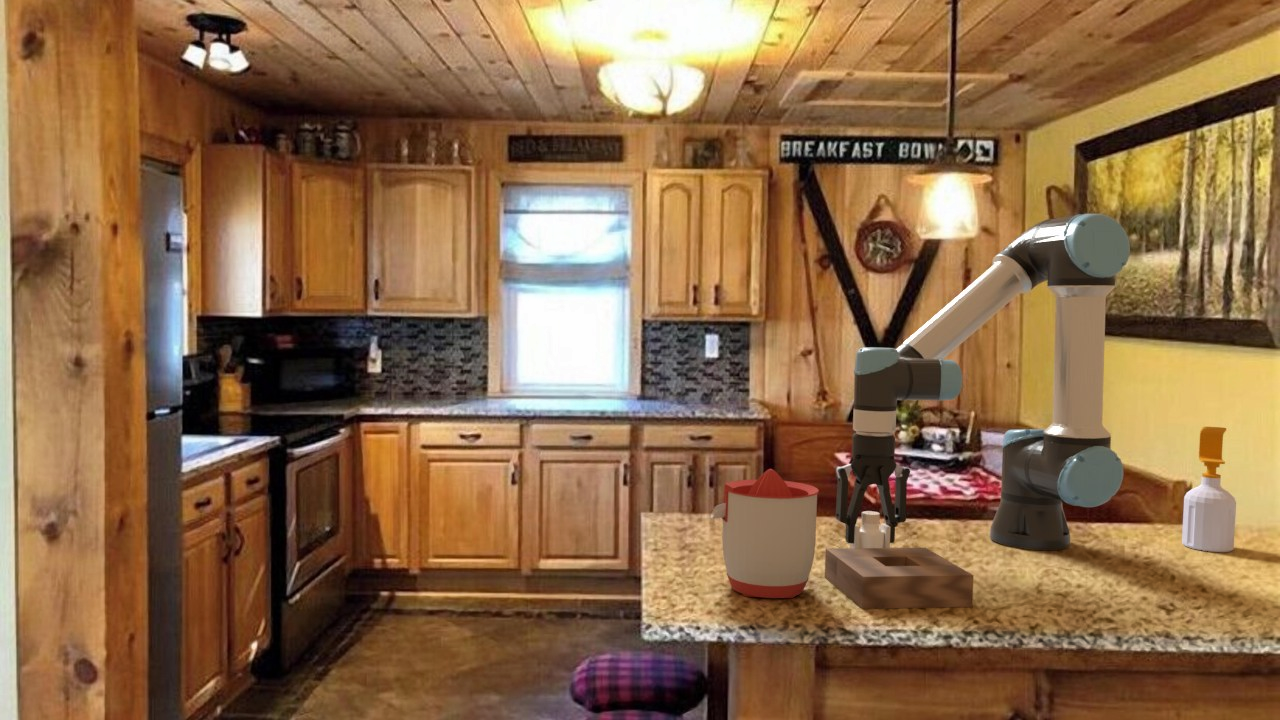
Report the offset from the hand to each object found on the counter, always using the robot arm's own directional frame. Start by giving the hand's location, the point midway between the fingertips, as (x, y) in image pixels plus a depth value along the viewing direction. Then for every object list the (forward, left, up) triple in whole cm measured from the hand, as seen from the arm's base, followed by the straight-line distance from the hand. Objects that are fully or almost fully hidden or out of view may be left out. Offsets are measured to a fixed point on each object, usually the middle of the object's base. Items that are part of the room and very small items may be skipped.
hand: (869, 560), depth 182 cm
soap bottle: (-75, -10, -1) cm, 76 cm away
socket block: (+2, +17, -1) cm, 17 cm away
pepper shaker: (0, 0, -1) cm, 1 cm away
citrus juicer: (+24, +15, -1) cm, 28 cm away
